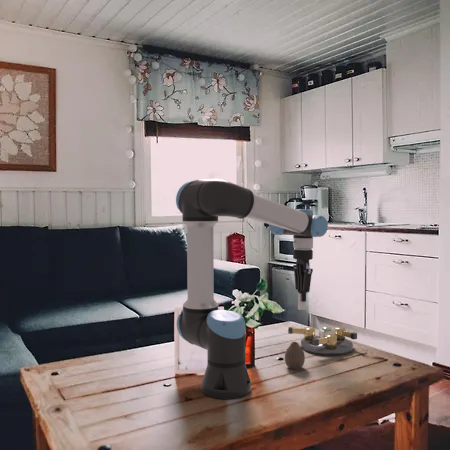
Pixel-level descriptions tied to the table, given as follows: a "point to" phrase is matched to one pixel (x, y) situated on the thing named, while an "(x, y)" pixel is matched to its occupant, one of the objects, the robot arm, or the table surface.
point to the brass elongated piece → (344, 334)
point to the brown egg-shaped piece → (294, 356)
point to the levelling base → (307, 346)
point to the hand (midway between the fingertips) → (302, 309)
